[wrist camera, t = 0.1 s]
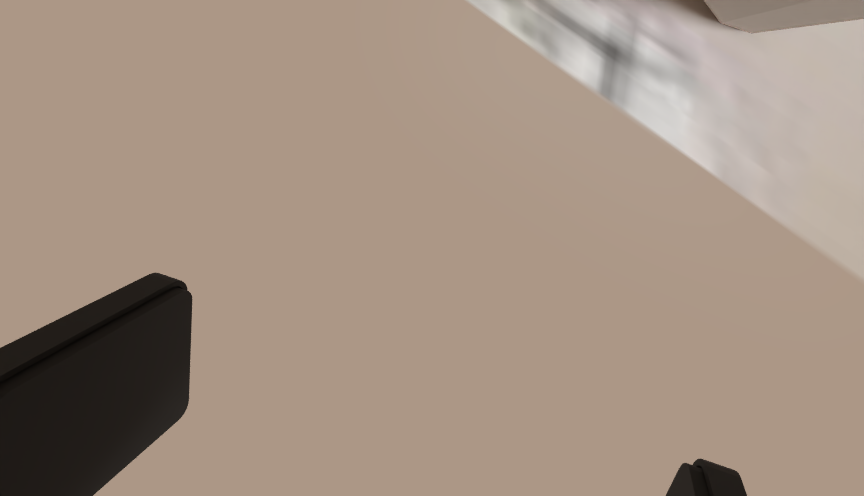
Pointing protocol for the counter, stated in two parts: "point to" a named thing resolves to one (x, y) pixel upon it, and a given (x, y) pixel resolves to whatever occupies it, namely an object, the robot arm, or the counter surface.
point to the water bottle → (783, 13)
